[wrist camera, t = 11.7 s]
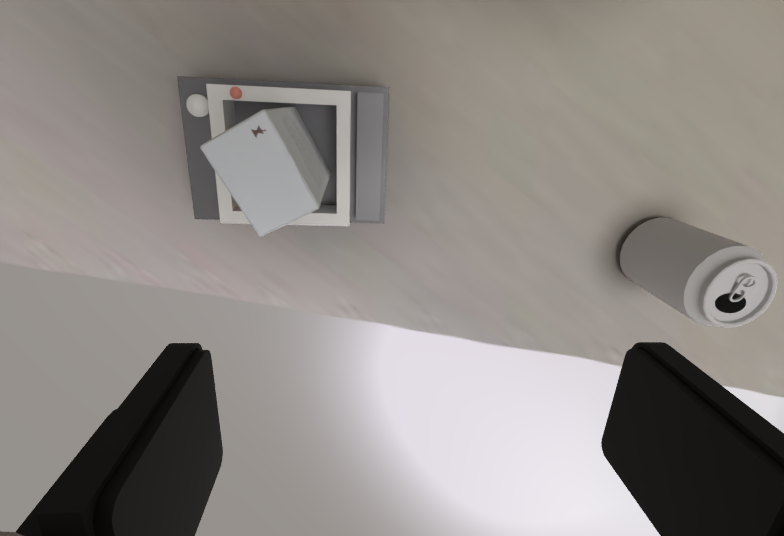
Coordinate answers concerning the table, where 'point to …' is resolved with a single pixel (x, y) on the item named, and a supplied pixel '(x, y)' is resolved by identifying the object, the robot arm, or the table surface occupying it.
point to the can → (699, 272)
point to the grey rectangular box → (326, 126)
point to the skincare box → (270, 168)
